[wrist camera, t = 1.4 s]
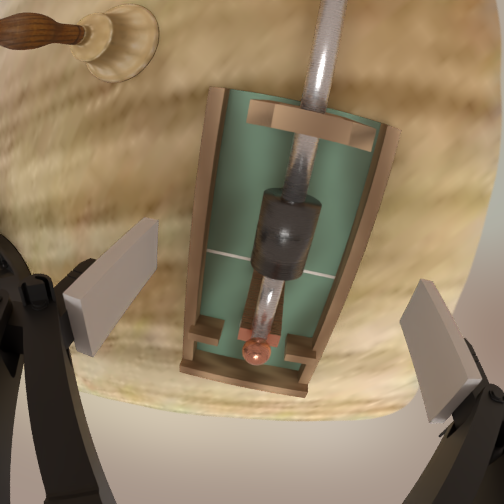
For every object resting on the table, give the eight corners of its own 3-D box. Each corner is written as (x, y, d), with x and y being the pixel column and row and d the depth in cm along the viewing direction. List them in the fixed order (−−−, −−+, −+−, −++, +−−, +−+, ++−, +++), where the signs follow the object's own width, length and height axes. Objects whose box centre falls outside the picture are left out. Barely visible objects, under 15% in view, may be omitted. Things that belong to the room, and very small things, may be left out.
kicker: (249, 279, 31) (228, 365, 21) (307, -11, 18) (314, -76, 8) (284, 287, 31) (276, 375, 21) (349, -1, 18) (383, -59, 8)
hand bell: (176, 42, 23) (58, 5, 9) (111, 99, 26) (-20, 123, 12) (132, -11, 20) (15, -57, 6) (74, 46, 23) (-52, 46, 9)
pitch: (189, 346, 38) (159, 423, 28) (219, 87, 24) (165, 81, 14) (305, 371, 38) (303, 452, 27) (390, 126, 24) (452, 148, 13)
